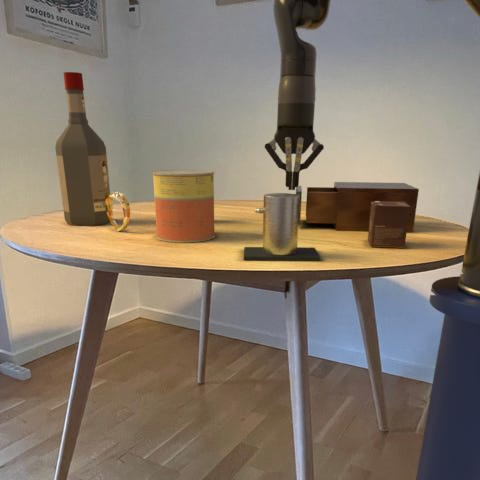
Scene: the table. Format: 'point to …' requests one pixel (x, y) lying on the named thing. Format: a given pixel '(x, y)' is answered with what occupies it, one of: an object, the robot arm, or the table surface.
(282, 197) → the measuring cup
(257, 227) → the table surface
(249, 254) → the trivet
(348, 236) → the table surface
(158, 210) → the canned food
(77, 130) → the liquor
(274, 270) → the table surface
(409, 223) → the cabinet
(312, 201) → the drawer
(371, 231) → the box
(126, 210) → the ring
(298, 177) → the robot arm
